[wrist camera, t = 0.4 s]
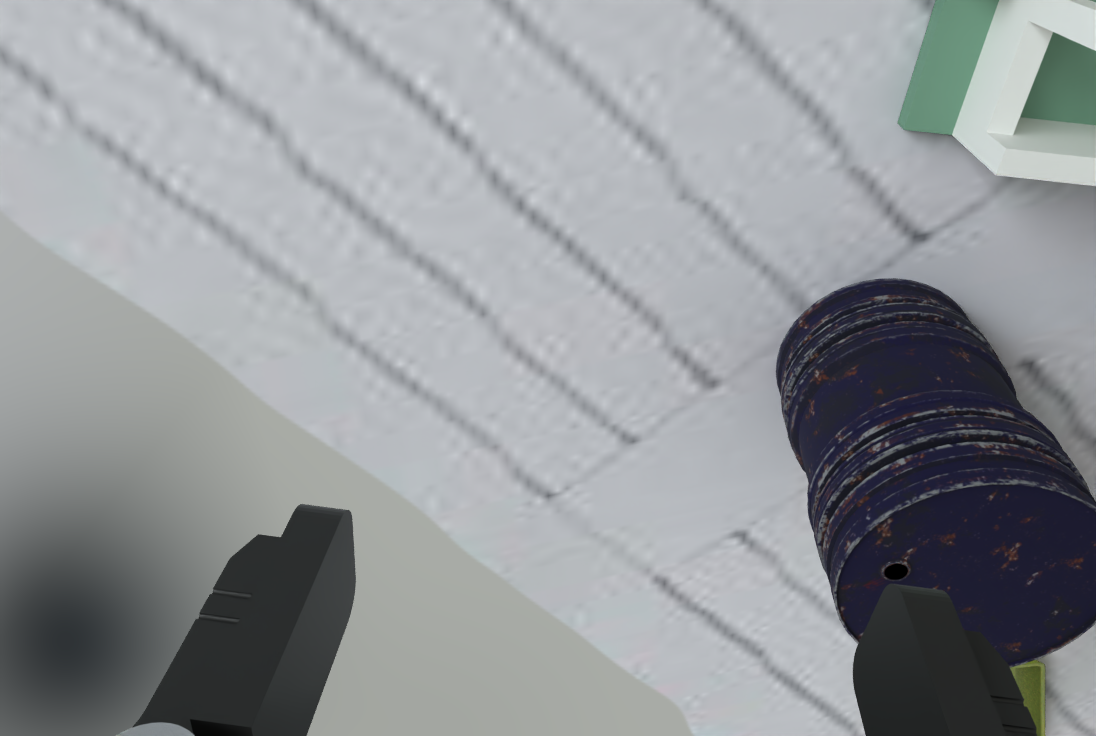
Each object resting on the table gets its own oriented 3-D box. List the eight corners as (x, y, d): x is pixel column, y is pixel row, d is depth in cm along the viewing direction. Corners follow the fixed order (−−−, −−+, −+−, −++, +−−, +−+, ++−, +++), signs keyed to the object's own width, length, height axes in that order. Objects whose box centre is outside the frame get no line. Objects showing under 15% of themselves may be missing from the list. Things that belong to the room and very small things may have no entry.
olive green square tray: (1032, 719, 56) (1045, 747, 54) (898, 733, 58) (907, 760, 56) (1031, 634, 52) (1046, 662, 50) (886, 652, 54) (895, 680, 52)
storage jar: (1014, 298, 39) (1192, 511, 27) (929, 456, 45) (1043, 696, 32) (809, 258, 39) (891, 454, 27) (748, 422, 44) (792, 649, 32)
